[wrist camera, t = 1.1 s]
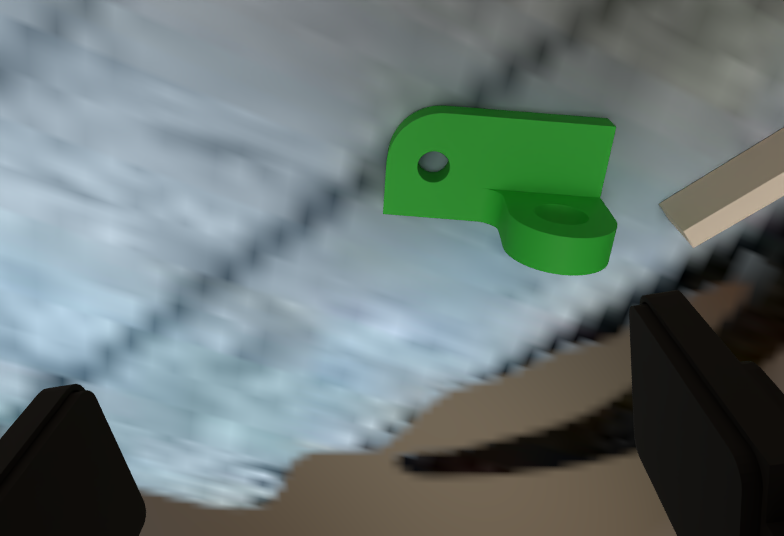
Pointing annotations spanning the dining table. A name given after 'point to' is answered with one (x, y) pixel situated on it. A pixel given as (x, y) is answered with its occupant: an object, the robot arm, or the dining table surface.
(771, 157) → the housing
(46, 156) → the dining table surface
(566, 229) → the mechanical part
